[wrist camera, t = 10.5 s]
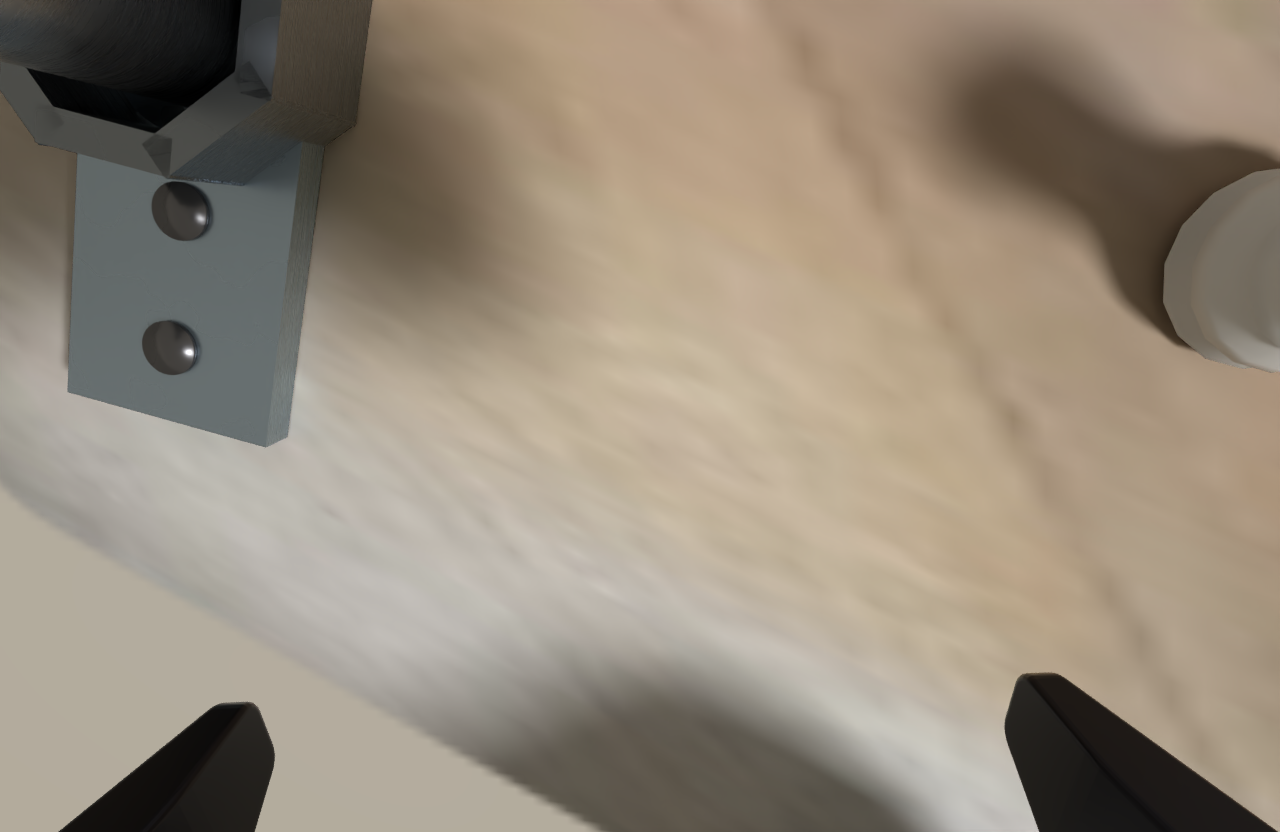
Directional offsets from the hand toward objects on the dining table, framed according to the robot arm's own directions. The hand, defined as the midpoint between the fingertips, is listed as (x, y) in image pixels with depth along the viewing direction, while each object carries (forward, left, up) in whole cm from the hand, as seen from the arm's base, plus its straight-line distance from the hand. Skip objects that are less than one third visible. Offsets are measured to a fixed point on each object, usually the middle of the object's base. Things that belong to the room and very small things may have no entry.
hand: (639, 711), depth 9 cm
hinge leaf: (+4, +13, -11) cm, 18 cm away
